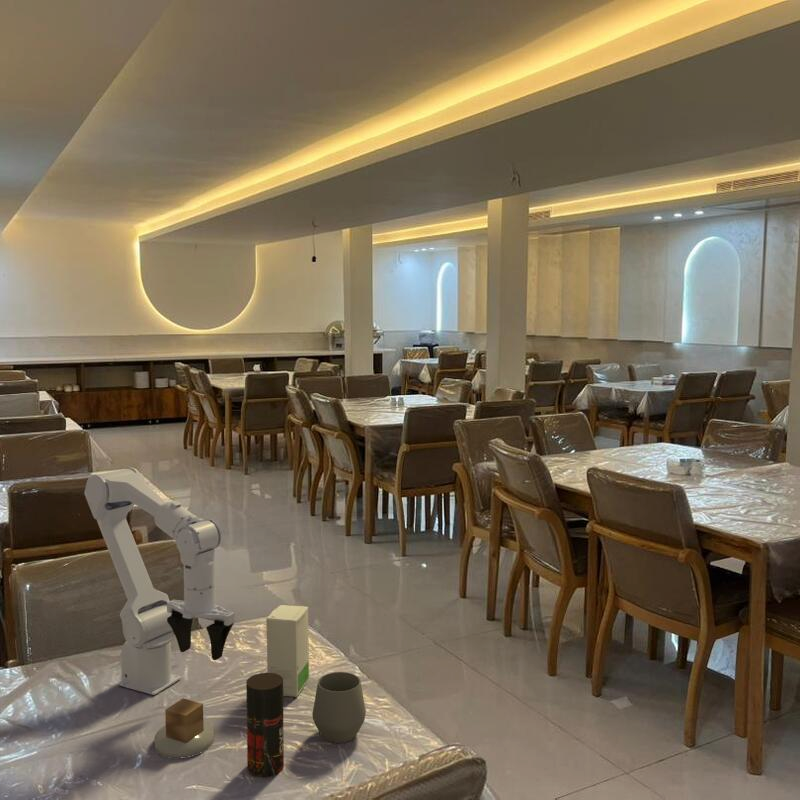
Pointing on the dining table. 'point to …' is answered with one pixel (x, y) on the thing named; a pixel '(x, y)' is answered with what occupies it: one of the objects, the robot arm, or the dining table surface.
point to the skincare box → (289, 647)
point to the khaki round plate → (182, 749)
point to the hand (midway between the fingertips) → (201, 654)
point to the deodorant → (265, 725)
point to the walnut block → (184, 720)
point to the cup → (339, 706)
